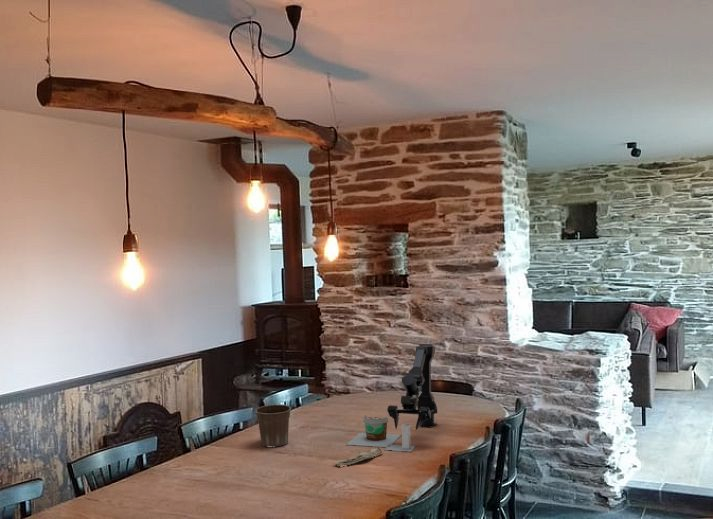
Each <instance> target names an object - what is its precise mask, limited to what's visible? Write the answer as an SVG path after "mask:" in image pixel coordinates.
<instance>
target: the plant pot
mask: <svg viewBox="0 0 713 519" xmlns="http://www.w3.org/2000/svg"><path fill="white" fill-rule="evenodd" d="M291 410H292V407H291V406H289V405H288V404H287V405H285V404H270V405H269V404H268V405H263V406H260V407H256V409H255V413H256V419H257V421H258V428H259V436H260V444H262V446H263V445H264V446H263V447H265V446H277V447H282V446H281V445H284V446H286V445H287V444H288V443H289V424H290V417H291V416H290V415H291ZM285 444H286V445H285Z"/></svg>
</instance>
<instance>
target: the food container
mask: <svg viewBox="0 0 713 519" xmlns="http://www.w3.org/2000/svg"><path fill="white" fill-rule="evenodd" d="M362 418H363V419H362V422H363V423H364V428H365V433H366V437H367V439H368V440H371V441H380V440H384V439H386V434H388V433H387V431H388V422H389V418H388V416H386V417H383V418H381V417H375V416H374V417H373V416H372V417H370V416H369V417H368V416H366V415H364V416H363V417H362Z"/></svg>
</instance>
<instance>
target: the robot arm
mask: <svg viewBox="0 0 713 519" xmlns="http://www.w3.org/2000/svg"><path fill="white" fill-rule="evenodd" d="M435 353H436V347H435V346H434V344H433V343H420V344H419V345H417V346H415V357H414V361H413V365H412V368H411V369H410V370H409V371H408V372H407V373H406V374H405V375H403V377H402V378H401V384H402V386H403V388H404V391H405V395H401V397H400V404H401V407H402V408H399V407H398V405H392V404H389V405H388V406H387V408H386V409H387V413H388V416H389V417H391V418H392V419H393V422H394V427H395V430H396V429H398V425H399V419H400V417H399V416H400V414H403V415H404V414H405V415H407V414H408V415H417V421H416V425H415V430H416V431H418V430H419V428H420V427H425V426H426V428H431V427H434V426H437V425H438V423H437V422H435V414H438V406H437V403H436V400H435V397H434V395H433V393H432V378H431V377H432V376H431V375H432V361H433V359H434V358H435ZM419 387H421V393H420V388H419Z"/></svg>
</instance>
